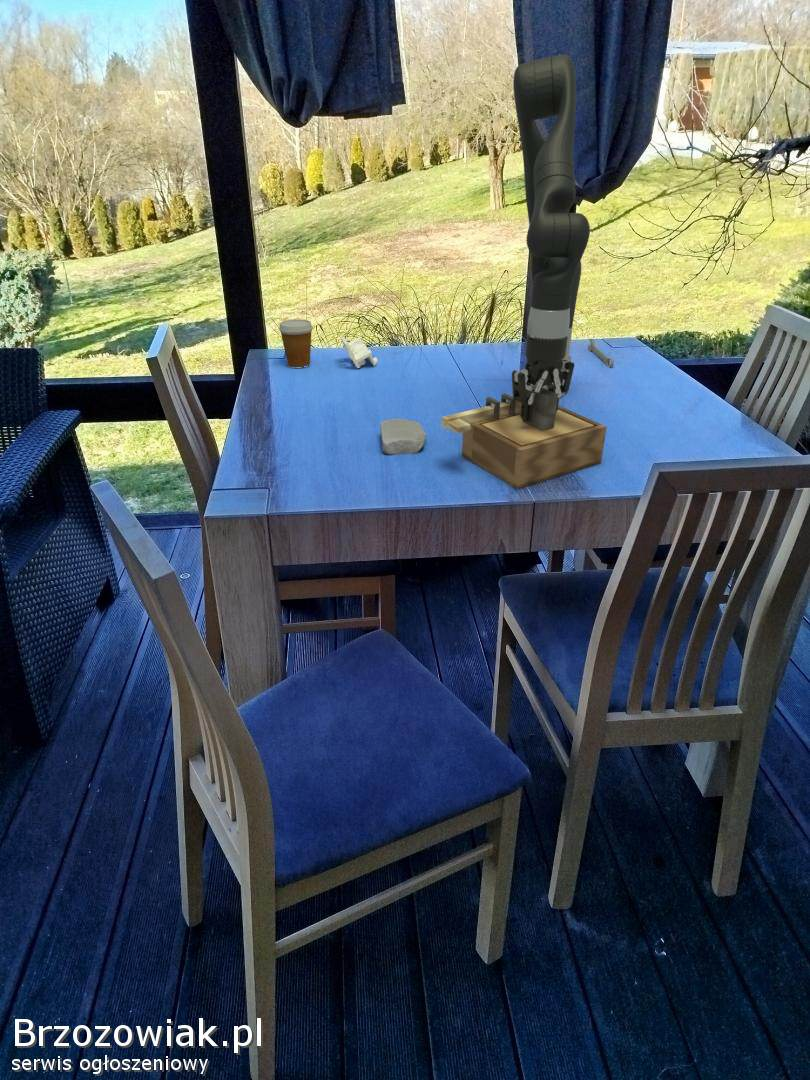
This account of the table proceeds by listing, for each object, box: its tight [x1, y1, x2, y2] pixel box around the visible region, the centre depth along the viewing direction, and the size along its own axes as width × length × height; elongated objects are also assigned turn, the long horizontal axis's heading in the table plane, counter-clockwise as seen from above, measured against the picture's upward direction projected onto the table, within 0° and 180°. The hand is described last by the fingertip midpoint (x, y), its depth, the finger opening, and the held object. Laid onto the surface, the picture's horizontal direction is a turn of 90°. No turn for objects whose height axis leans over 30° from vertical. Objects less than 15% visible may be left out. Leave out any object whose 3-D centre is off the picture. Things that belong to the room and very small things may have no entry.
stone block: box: [380, 418, 427, 456], centre depth 147 cm, size 12×5×10 cm
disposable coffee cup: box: [278, 318, 314, 368], centre depth 193 cm, size 10×10×12 cm
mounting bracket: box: [339, 334, 379, 369], centre depth 196 cm, size 12×6×11 cm, turn 15°
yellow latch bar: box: [441, 395, 521, 435], centre depth 137 cm, size 19×6×3 cm, turn 122°
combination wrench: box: [587, 338, 615, 368], centre depth 201 cm, size 4×1×20 cm
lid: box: [482, 386, 594, 447], centre depth 134 cm, size 19×12×8 cm, turn 122°
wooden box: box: [461, 393, 608, 490], centre depth 138 cm, size 22×18×12 cm
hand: (538, 417), depth 135 cm, fingers open, 5 cm apart
